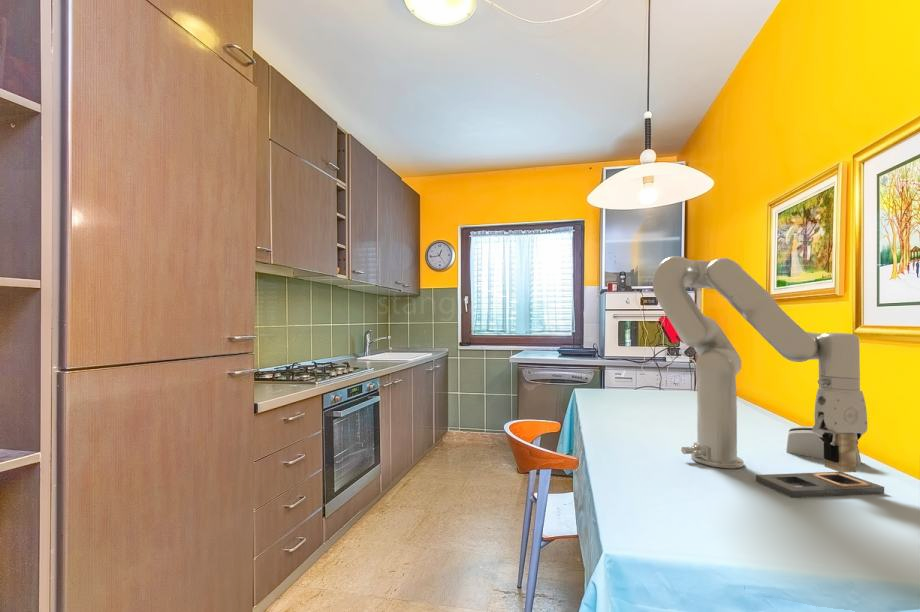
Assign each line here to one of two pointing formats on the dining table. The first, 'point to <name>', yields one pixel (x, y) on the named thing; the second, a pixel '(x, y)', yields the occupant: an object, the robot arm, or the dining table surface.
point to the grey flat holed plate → (819, 484)
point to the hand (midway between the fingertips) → (839, 459)
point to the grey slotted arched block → (808, 443)
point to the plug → (844, 453)
